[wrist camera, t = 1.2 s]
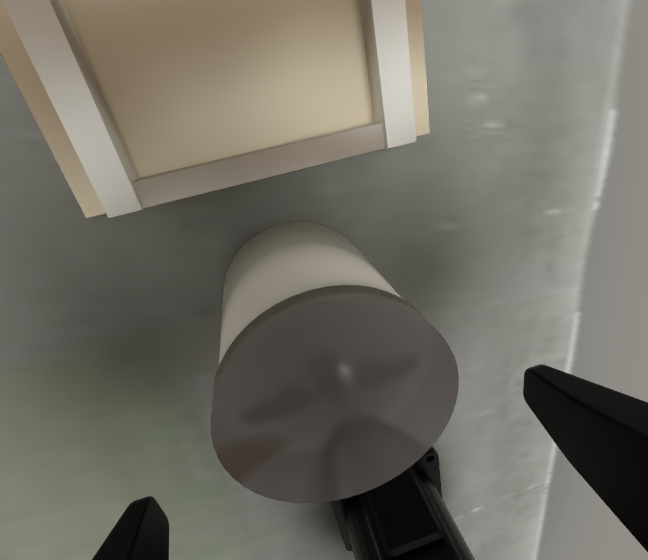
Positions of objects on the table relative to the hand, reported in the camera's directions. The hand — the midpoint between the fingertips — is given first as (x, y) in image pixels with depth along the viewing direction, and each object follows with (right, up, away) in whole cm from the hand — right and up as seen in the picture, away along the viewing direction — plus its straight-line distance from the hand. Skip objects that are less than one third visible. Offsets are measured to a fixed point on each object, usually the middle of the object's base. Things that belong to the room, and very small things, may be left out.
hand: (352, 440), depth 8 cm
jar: (-2, +3, +7) cm, 8 cm away
